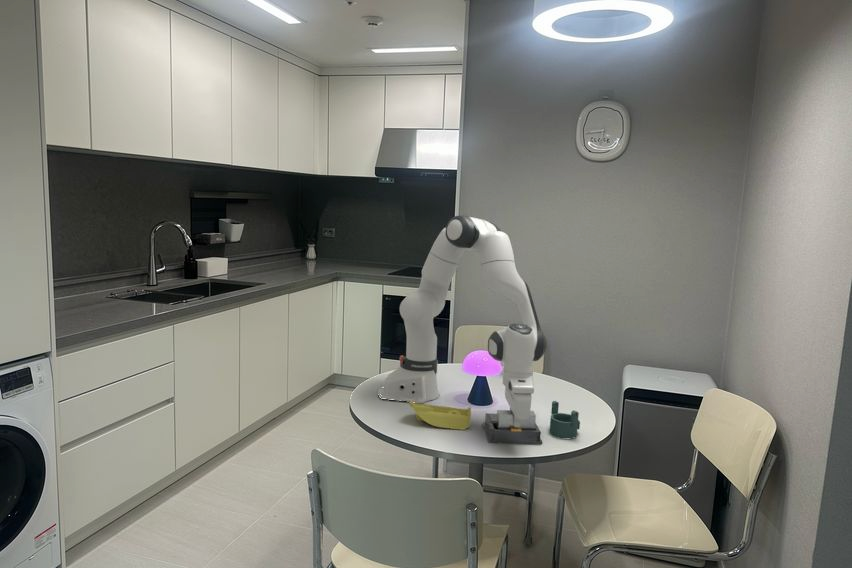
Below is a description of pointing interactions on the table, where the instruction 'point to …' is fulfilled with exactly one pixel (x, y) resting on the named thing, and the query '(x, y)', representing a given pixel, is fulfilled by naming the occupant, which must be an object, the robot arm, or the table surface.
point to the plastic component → (442, 416)
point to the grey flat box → (509, 433)
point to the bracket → (563, 423)
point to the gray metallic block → (507, 419)
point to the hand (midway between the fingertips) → (515, 423)
